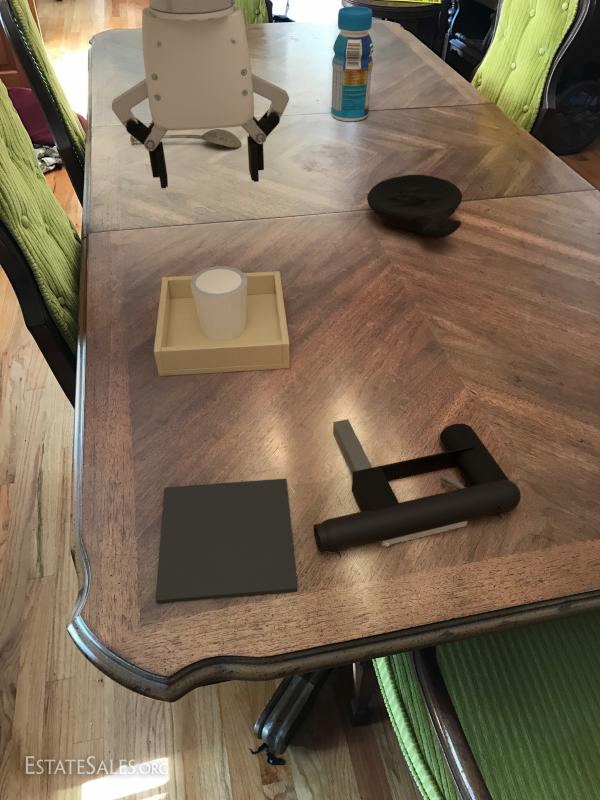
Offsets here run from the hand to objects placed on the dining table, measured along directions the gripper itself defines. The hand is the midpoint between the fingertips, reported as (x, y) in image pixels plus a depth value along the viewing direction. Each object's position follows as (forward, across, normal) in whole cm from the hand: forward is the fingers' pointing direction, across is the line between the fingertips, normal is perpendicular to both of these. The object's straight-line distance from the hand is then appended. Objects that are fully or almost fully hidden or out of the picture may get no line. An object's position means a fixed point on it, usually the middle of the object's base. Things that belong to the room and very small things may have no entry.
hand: (209, 179), depth 66 cm
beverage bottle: (+20, -34, -71) cm, 81 cm away
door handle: (+20, -15, +28) cm, 38 cm away
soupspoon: (+20, +2, -61) cm, 64 cm away
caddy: (+20, 0, +1) cm, 20 cm away
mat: (+20, +2, +32) cm, 38 cm away
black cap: (+20, -33, -21) cm, 44 cm away
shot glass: (+19, 0, +1) cm, 19 cm away
